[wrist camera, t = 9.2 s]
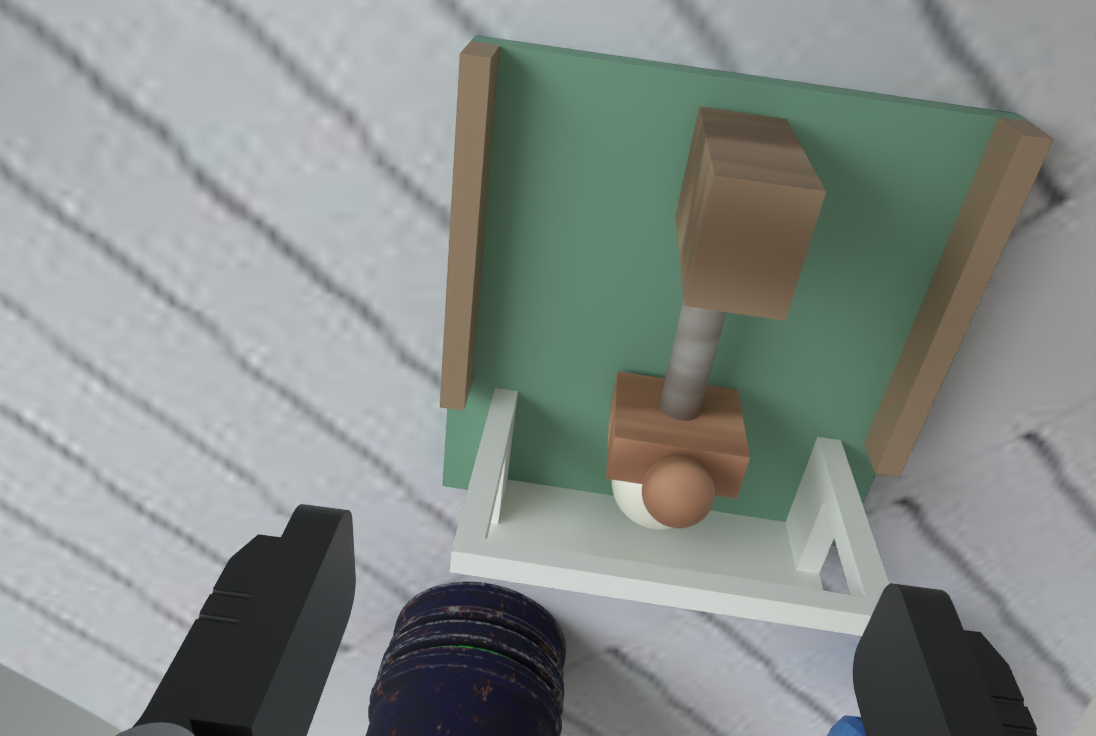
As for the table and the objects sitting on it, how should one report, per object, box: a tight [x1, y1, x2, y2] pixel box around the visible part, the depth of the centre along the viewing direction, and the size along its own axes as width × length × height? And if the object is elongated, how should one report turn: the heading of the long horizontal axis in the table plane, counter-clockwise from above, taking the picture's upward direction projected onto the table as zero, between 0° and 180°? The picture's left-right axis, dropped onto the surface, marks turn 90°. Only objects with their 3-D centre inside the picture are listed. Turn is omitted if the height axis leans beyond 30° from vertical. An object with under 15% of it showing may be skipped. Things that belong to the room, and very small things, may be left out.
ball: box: [612, 480, 672, 530], centre depth 35 cm, size 4×4×4 cm
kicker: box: [606, 106, 826, 528], centre depth 29 cm, size 13×5×7 cm, turn 173°
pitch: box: [440, 36, 1053, 636], centre depth 30 cm, size 20×19×11 cm
